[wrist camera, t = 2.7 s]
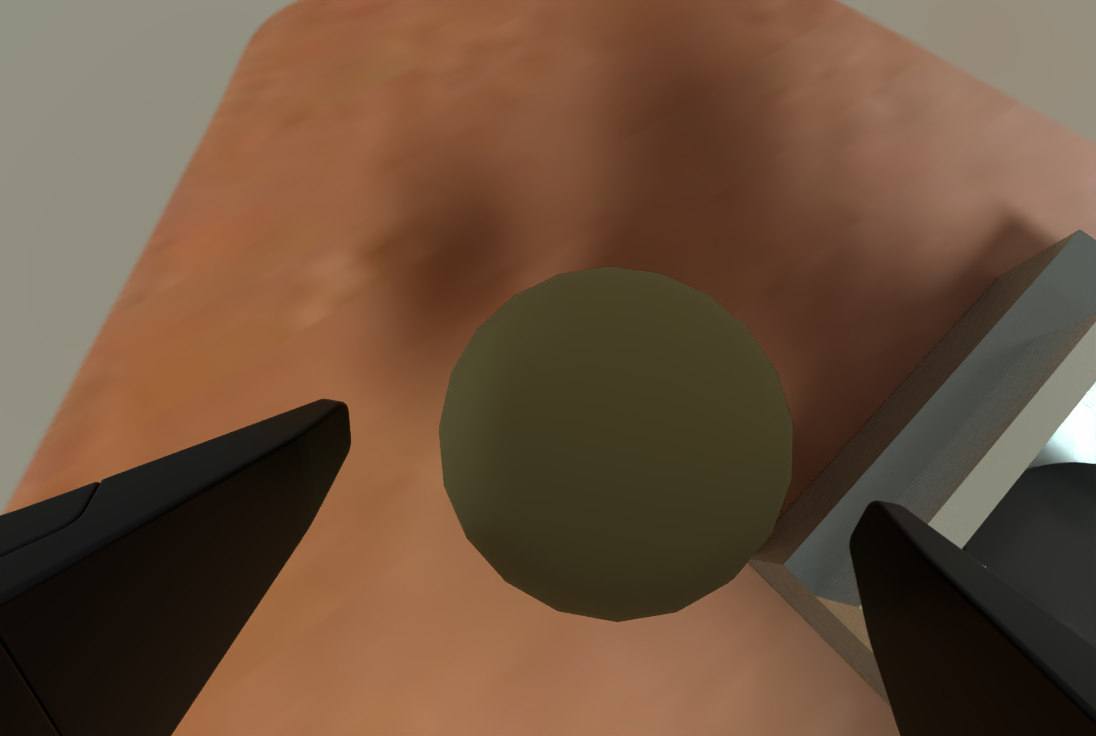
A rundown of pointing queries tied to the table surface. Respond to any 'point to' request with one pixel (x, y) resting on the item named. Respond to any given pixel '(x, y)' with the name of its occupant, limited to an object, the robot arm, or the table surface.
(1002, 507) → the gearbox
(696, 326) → the olive knobbed post
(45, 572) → the robot arm
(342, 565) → the table surface
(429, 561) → the table surface
